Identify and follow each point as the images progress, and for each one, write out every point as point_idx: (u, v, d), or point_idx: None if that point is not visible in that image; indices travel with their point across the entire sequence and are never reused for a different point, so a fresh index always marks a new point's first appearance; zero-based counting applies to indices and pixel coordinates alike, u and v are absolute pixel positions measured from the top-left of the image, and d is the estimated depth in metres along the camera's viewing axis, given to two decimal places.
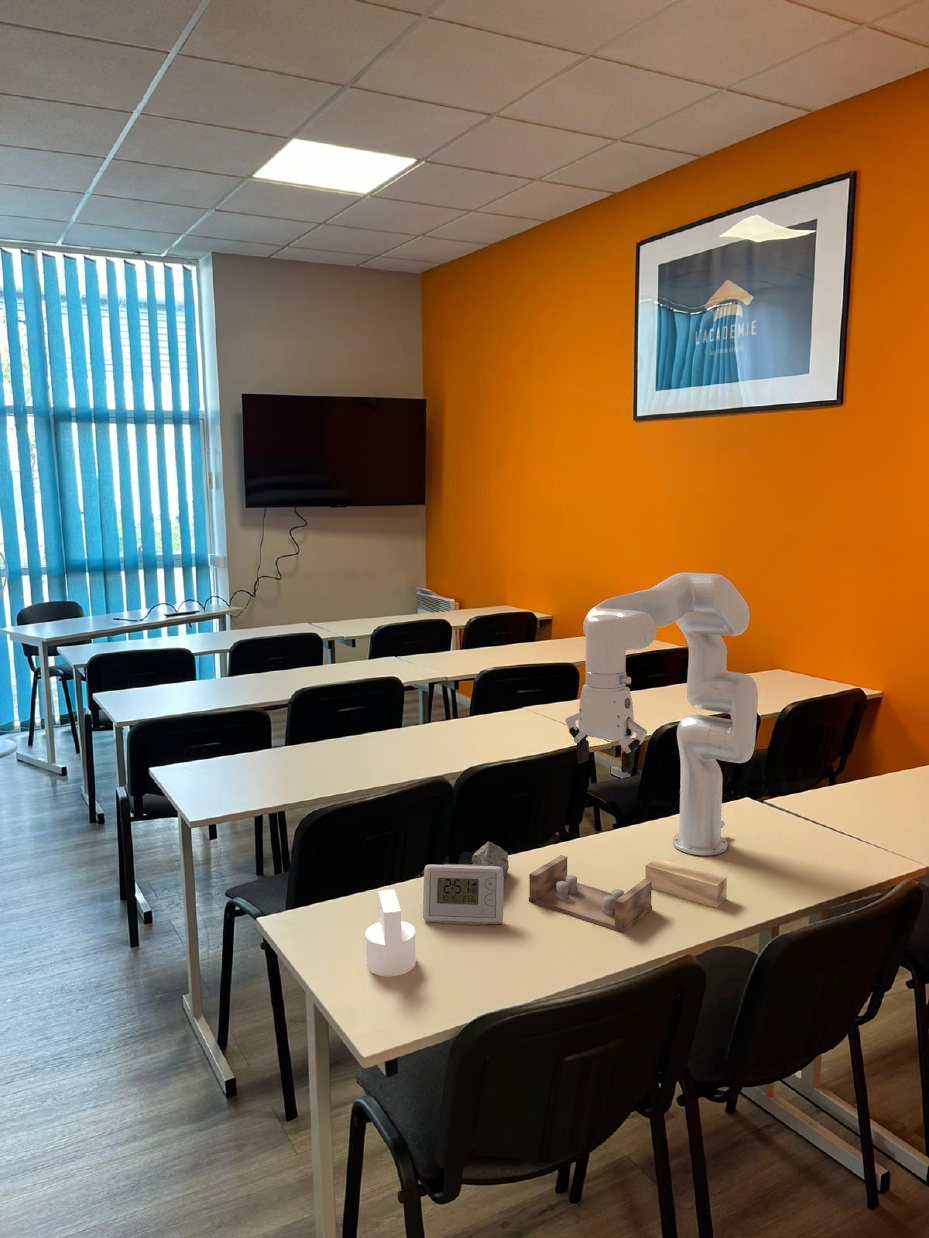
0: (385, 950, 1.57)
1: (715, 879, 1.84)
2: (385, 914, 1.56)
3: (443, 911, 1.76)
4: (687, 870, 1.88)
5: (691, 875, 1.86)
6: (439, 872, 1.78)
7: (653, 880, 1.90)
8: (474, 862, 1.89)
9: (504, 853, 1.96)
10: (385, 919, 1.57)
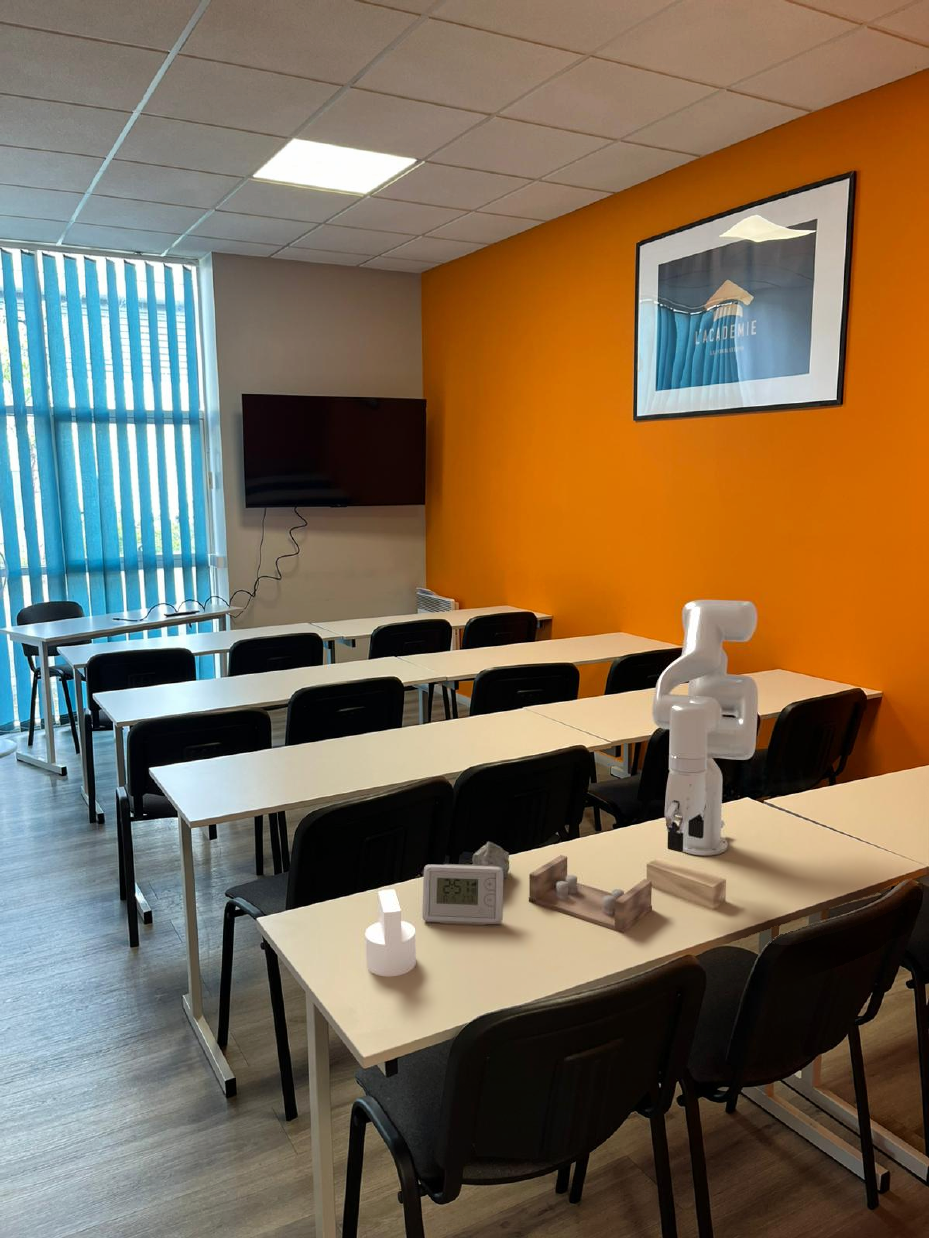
0: (385, 950, 1.57)
1: (713, 880, 1.83)
2: (385, 914, 1.56)
3: (443, 911, 1.76)
4: (687, 871, 1.88)
5: (690, 875, 1.86)
6: (439, 873, 1.78)
7: (654, 878, 1.91)
8: (474, 862, 1.88)
9: (505, 853, 1.96)
10: (385, 919, 1.57)
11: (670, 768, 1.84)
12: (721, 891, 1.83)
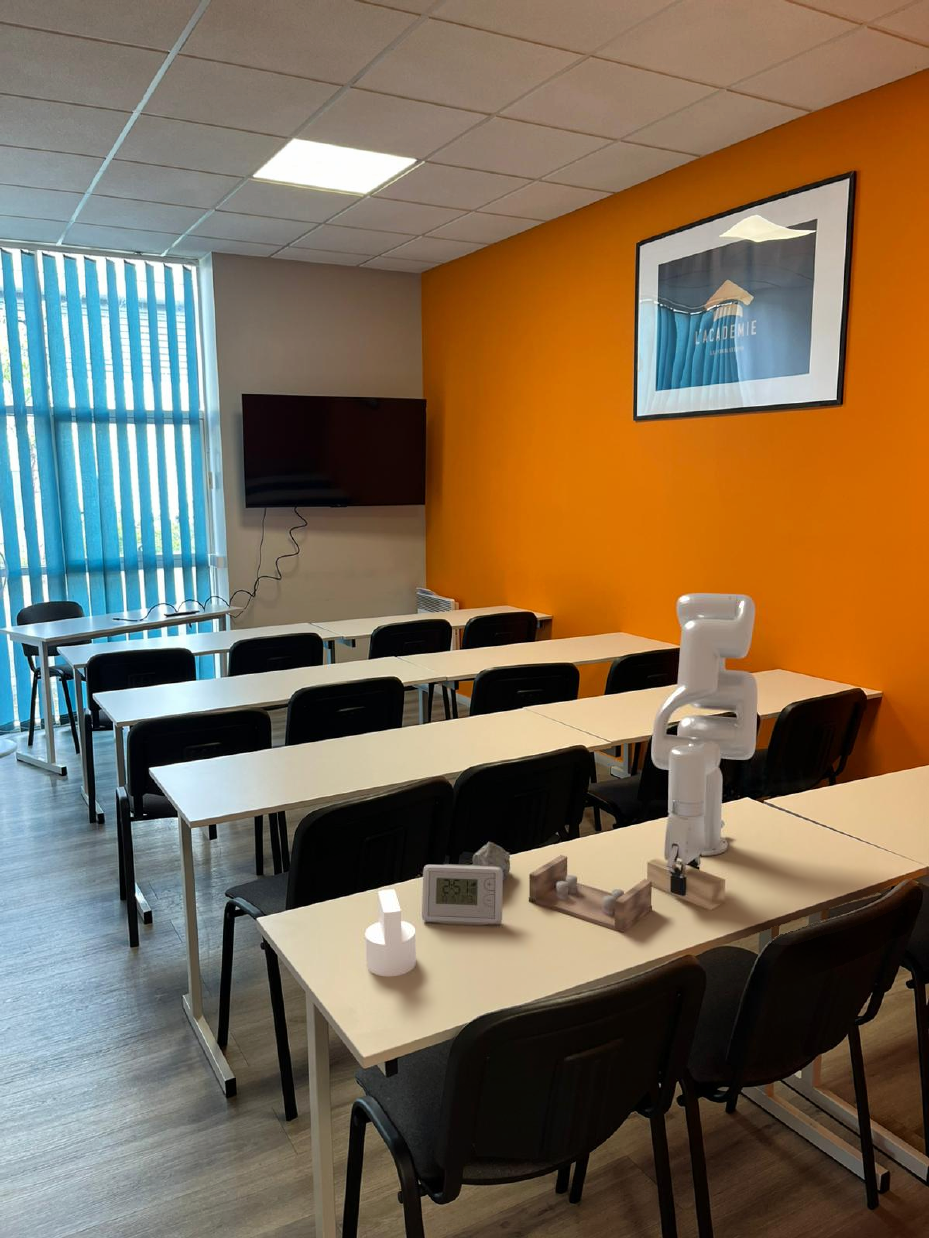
0: (385, 950, 1.57)
1: (712, 880, 1.83)
2: (385, 914, 1.56)
3: (442, 911, 1.76)
4: (687, 870, 1.88)
5: (689, 874, 1.85)
6: (438, 873, 1.78)
7: (654, 877, 1.91)
8: (474, 862, 1.88)
9: (506, 853, 1.96)
10: (385, 919, 1.57)
11: (669, 811, 1.85)
12: (720, 891, 1.82)
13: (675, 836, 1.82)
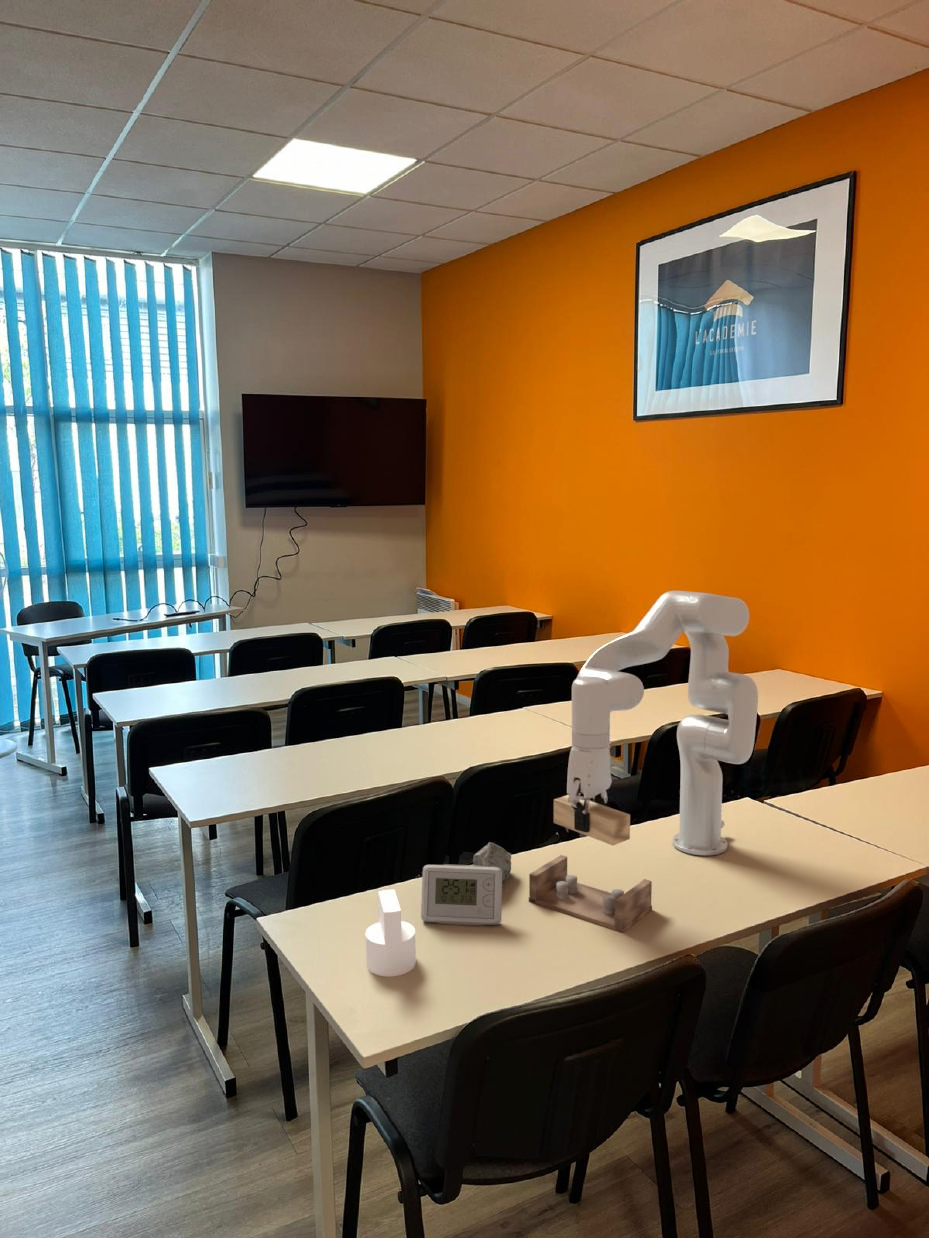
0: (385, 950, 1.57)
1: (616, 815, 1.76)
2: (385, 914, 1.56)
3: (441, 911, 1.76)
4: (593, 806, 1.80)
5: (594, 810, 1.78)
6: (438, 873, 1.78)
7: (560, 815, 1.84)
8: (475, 862, 1.88)
9: (507, 854, 1.96)
10: (385, 919, 1.57)
11: (572, 744, 1.78)
12: (624, 826, 1.75)
13: (577, 770, 1.75)
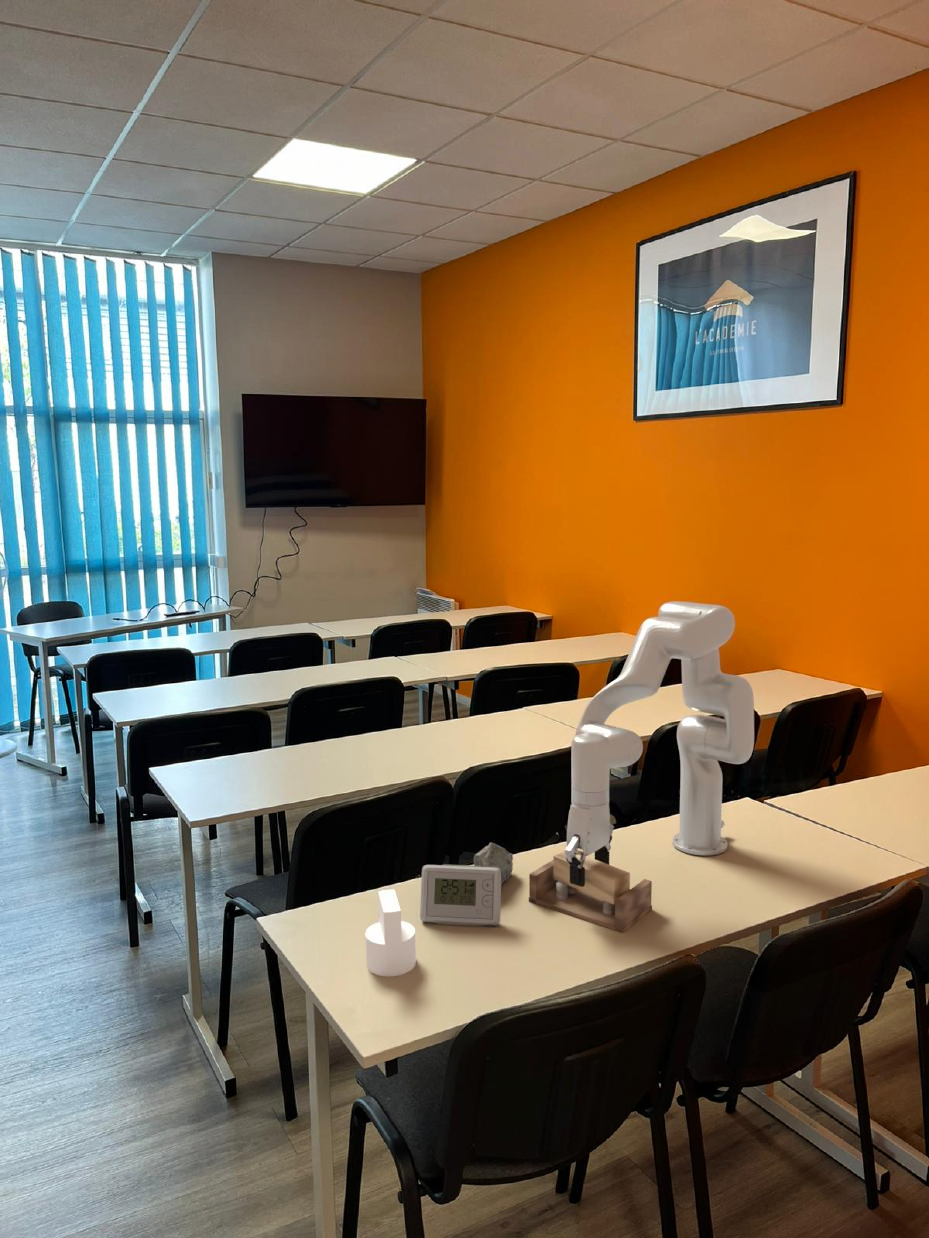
0: (385, 950, 1.57)
1: (616, 874, 1.77)
2: (385, 914, 1.56)
3: (440, 912, 1.76)
4: (593, 864, 1.82)
5: (594, 868, 1.80)
6: (437, 873, 1.78)
7: (560, 871, 1.85)
8: (475, 863, 1.88)
9: (508, 854, 1.96)
10: (385, 919, 1.57)
11: (572, 801, 1.80)
12: (624, 885, 1.77)
13: (577, 826, 1.77)
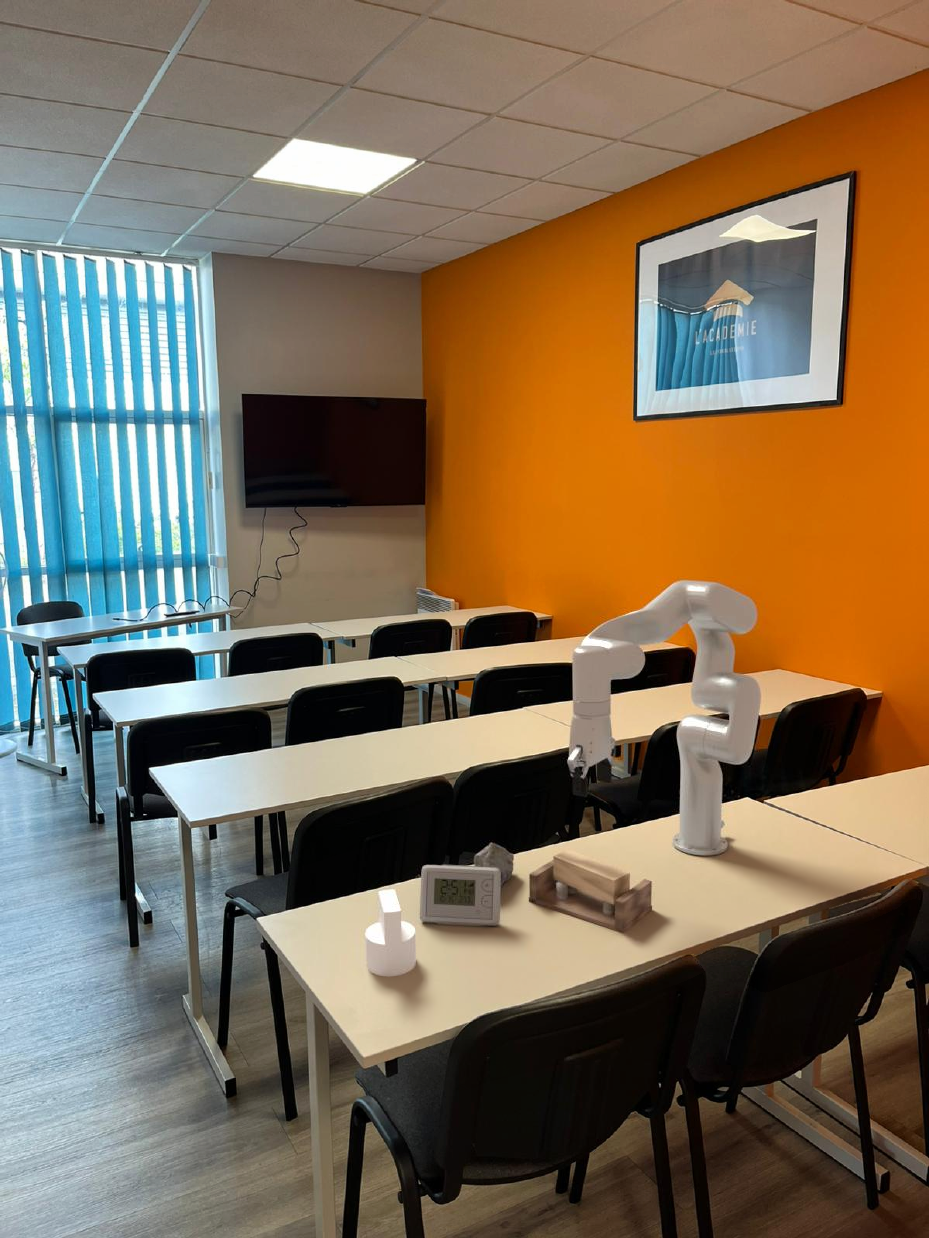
0: (385, 950, 1.57)
1: (616, 874, 1.77)
2: (385, 914, 1.56)
3: (440, 912, 1.76)
4: (593, 864, 1.82)
5: (594, 868, 1.80)
6: (436, 873, 1.78)
7: (560, 871, 1.85)
8: (476, 863, 1.88)
9: (509, 855, 1.95)
10: (385, 919, 1.57)
11: (574, 712, 1.80)
12: (624, 885, 1.77)
13: (579, 737, 1.77)
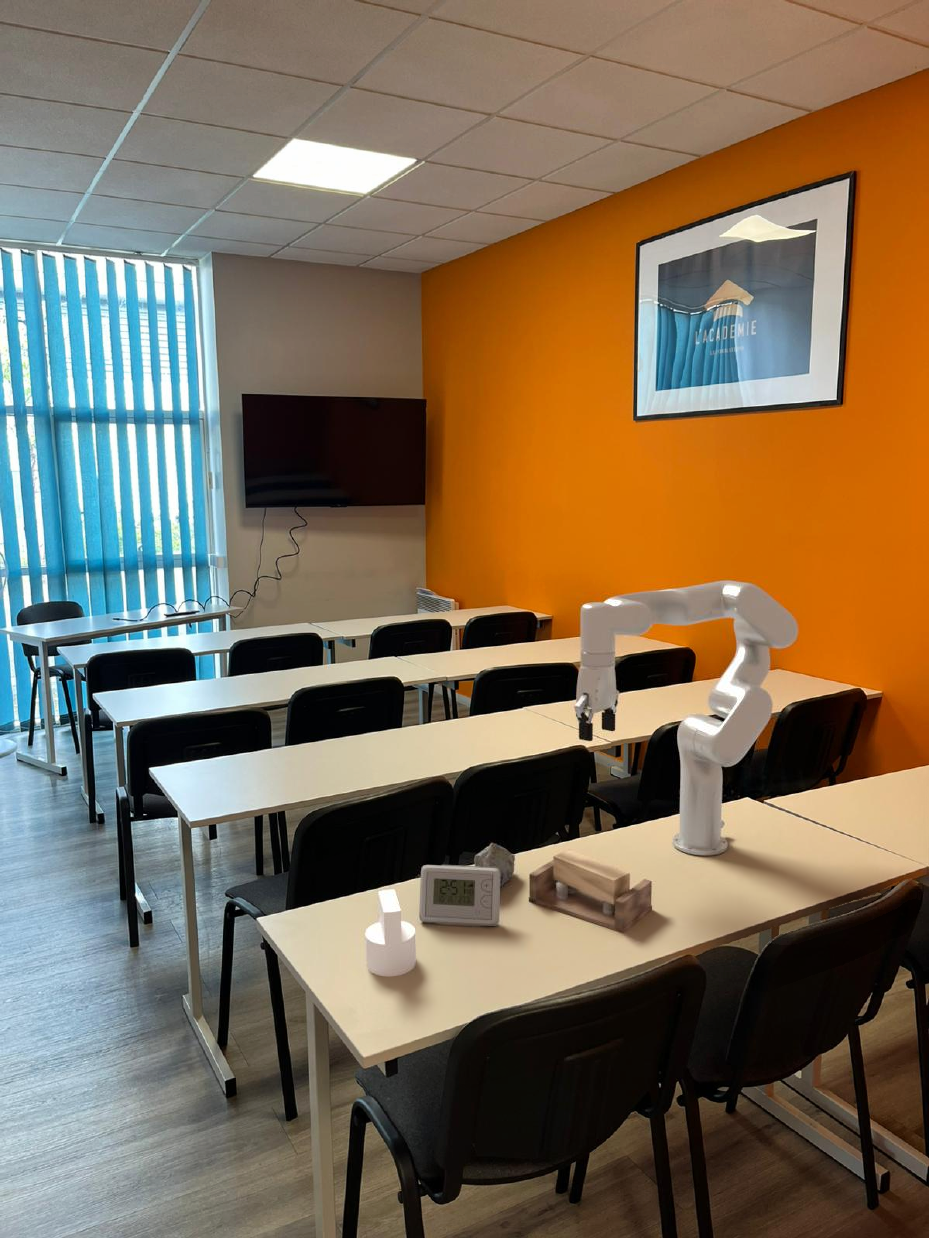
0: (385, 950, 1.57)
1: (616, 874, 1.77)
2: (385, 914, 1.56)
3: (439, 912, 1.76)
4: (593, 864, 1.82)
5: (594, 868, 1.80)
6: (436, 873, 1.78)
7: (560, 871, 1.85)
8: (476, 863, 1.88)
9: (510, 855, 1.95)
10: (385, 919, 1.57)
11: (581, 664, 1.96)
12: (624, 885, 1.77)
13: (585, 686, 1.93)
